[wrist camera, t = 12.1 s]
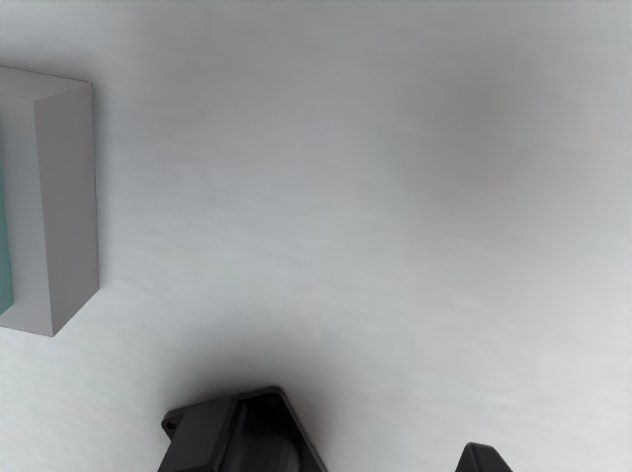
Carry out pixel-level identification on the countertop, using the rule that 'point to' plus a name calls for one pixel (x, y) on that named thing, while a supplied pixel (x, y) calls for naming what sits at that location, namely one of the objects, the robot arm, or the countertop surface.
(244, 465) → the robot arm
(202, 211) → the countertop surface
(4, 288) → the teal block
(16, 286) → the slate block
